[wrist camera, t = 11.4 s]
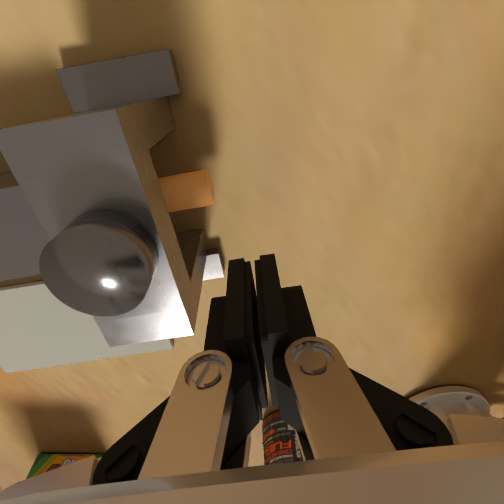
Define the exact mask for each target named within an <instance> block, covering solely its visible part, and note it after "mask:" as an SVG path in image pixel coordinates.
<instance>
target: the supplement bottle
mask: <svg viewBox="0 0 504 504" xmlns="http://www.w3.org/2000/svg"><path fill="white" fill-rule="evenodd" d="M262 429H263V431H262V433H263V443H262V444H263V447H264V460H265V462H264V464H265V465H271V464H280V463H289V462H298V461H304V460H303V457H302V454H301V450H300V447H299V444H298V441H297V437H296V432H295V429H294V428H292V427H291V426H290V425H288V424H287V423H286V422H284V421H283V420H282V419H281V414H280V411H277V412H275V413H272V414H270V415H269V416H268V417H267V418H266V419H265V420H264V422H263V425H262Z"/></svg>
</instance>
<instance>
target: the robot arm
mask: <svg viewBox="0 0 504 504" xmlns="http://www.w3.org/2000/svg"><path fill="white" fill-rule="evenodd" d="M255 275H256V290H257V296H256V290H255V285H254V279H253V274H252V268H251V263H250V261H248V262H245V261H244V258H241V259H235V260H229V265H228V278H227V290H226V296H222V297H215V298H212V299H211V304H210V311H209V318H208V325H207V331H206V338H205V345H204V351H202V352H200V353H197V354H195V355H194V356H192V357H191V358H189V359H188V360H187V361H186V362H185V363H184V365H183V366H182V368H181V370H180V372H179V375H178V377H177V380H176V382H175V385H174V387H173V390H172V393H171V395H170V396H169V397H168V398H167V399H166V400H165V401H163V402H162V403H161V404H160V405H159V406H158V407H156V408H155V409H154V410H153V411H152V412H151V413H149V414H148V415H147V416H146V417H145V418H144V419H142V420H141V421H140V422H139V423H138V424H137V425H136V426H134V427H133V428H132V429H131V430H130V431H129V432H127V433H126V434H125V435H124V436H123V437H122V438H120V439H119V440H118V441H117V442H116V443H115V444H113V445H112V446H111V447H110V448H109V449H108V450H107V452H106V453H105V454H104V455H103V456H102V457H101V458H98V459H97V458H96V457H95V455H93V456H90V457H88V458H85V459H82V460H79V461H76V462H73V463H71V464H68V465H65V466H62V467H59V468H57V469H54V470H51V471H48V472H45V473H42V474H40V475H37V476H34V477H31V478H28V479H26V480H23V481H20V482H17V483H15V484H13V485H12V486H10V487H8V488H6V489H5V490H3V491H2V492H1V493H0V504H504V417H503V418H495V417H492V415H491V414H490V406H489V403H488V402H487V400H486V399H485V398H484V396H483V395H482V394H481V393H480V392H478V391H476V390H475V389H472V388H469V387H464V386H444V387H437V388H433V389H429V390H426V391H424V392H421V393H418V394H416V395H414V396H412V397H410V398H409V399H407V398H405V397H404V396H402V395H400V394H398V393H396V392H394V391H392V390H390V389H388V388H386V387H384V386H383V385H381V384H379V383H377V382H375V381H373V380H371V379H369V378H367V377H365V376H364V375H362V374H360V373H358V372H356V371H354V370H352V369H350V368H349V367H348V366H347V364H346V362H345V361H344V359H343V357H342V355H341V354H340V352H339V350H338V349H337V348H336V347H335V345H334V344H332V343H331V342H329V341H328V340H326V339H323V338H320V337H316V334H315V330H314V327H313V323H312V320H311V317H310V313H309V310H308V306H307V303H306V300H305V296H304V293H303V290H302V287H301V285H300V286H293V287H286V288H281V286H280V281H279V276H278V270H277V265H276V260H275V255H274V254H268V255H262V256H260V260H255ZM264 361H265V362H264ZM265 366H266V371H267V376H268V382H269V387H270V392H271V397H272V402H273V407H275V406H279V409H280V414H281V419H282V420H283V421H284V422H286V423H287V424H288V425H290V426H291V427H292V428H294V429H295V432H296V437H297V441H298V444H299V447H300V450H301V454H302V457H303V460H304V461H298V462H289V463H280V464H271V465H262V466H253V467H248V462H249V453H250V445H251V433H250V432H251V431H252V430H253V429H254V427H255V426H256V425H257V424H258V423H259V420H262V408H267V407H268V399H267V387H266V374H265Z"/></svg>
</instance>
